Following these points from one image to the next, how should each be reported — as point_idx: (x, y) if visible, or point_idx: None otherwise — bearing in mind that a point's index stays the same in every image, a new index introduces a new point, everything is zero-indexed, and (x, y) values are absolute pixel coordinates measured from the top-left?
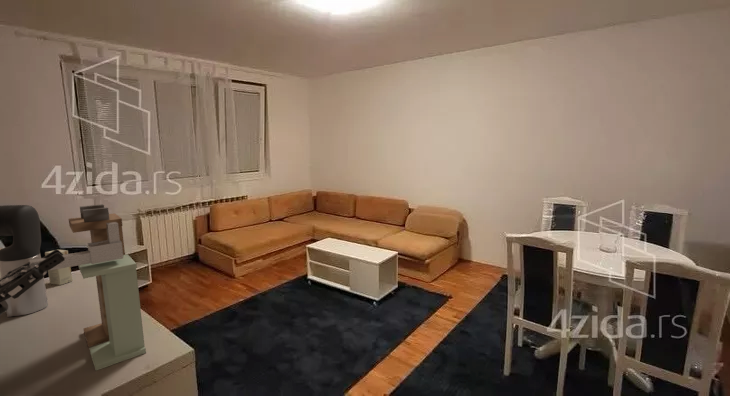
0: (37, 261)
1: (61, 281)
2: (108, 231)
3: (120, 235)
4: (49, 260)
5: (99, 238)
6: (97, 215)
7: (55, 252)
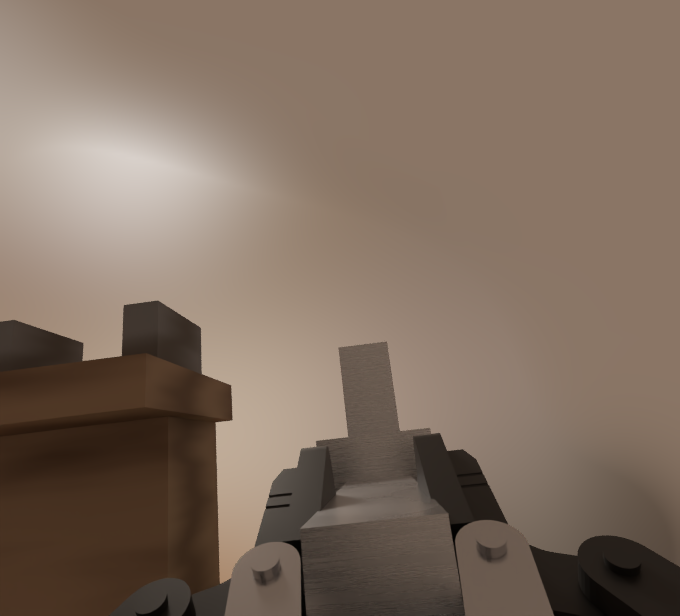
0: (434, 504)
1: None
2: (390, 374)
3: (213, 470)
4: (484, 482)
5: (179, 475)
6: (183, 347)
7: (327, 465)
